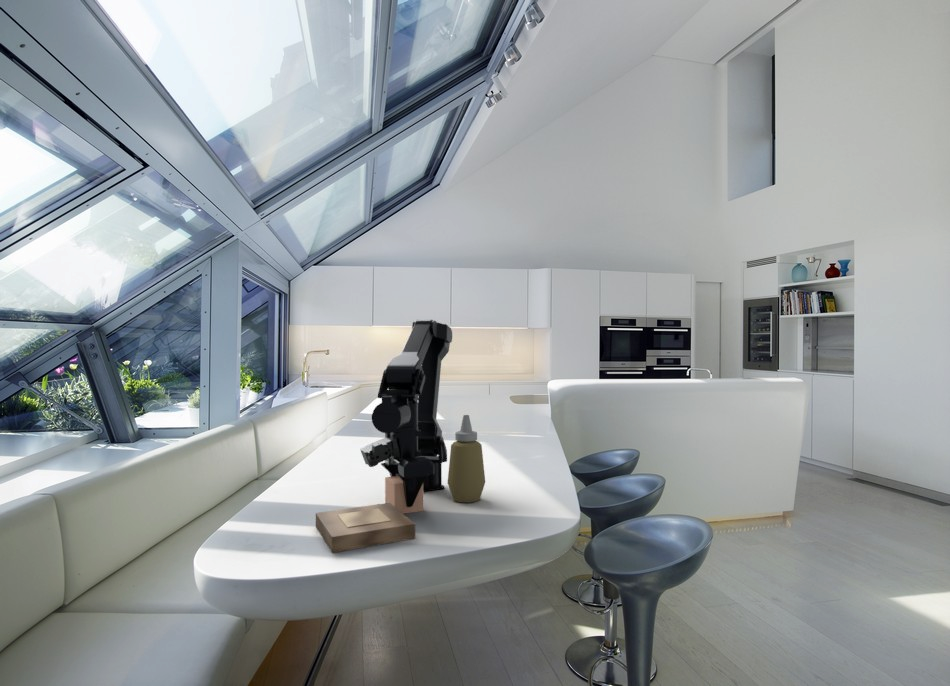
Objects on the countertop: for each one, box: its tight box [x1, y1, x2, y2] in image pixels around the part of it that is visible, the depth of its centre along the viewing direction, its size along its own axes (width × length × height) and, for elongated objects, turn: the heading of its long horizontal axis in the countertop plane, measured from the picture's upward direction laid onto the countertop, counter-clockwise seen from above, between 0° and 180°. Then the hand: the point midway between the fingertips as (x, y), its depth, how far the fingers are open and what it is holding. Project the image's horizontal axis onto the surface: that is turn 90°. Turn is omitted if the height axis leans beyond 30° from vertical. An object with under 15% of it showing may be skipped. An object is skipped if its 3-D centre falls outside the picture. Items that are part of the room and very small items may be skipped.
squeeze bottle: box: [447, 414, 486, 503], centre depth 117 cm, size 8×8×18 cm
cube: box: [384, 476, 424, 515], centre depth 110 cm, size 6×6×6 cm
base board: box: [315, 503, 416, 554], centre depth 96 cm, size 14×14×3 cm
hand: (404, 502), depth 110 cm, fingers closed on cube, 6 cm apart
